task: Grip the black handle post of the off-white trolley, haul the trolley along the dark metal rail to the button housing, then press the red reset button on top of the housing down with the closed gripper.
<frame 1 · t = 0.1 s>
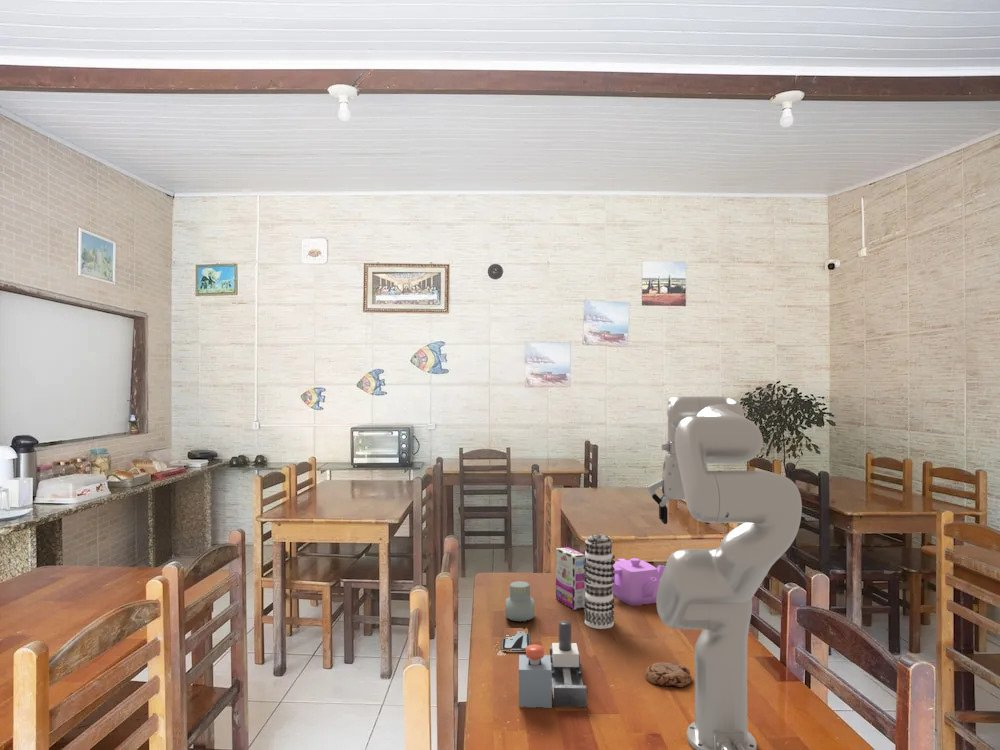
hand: (685, 522, 139), 37 cm above the table, tool pointing down, fingers open, 9 cm apart
candy bar box: (571, 604, 188), on the table
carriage: (565, 645, 143), point 7 cm above the table, slide at 0.0 cm
air freshener: (520, 618, 176), on the table
cookie: (668, 680, 140), on the table
decorative candle: (599, 623, 173), on the table
teakettle: (637, 598, 193), on the table
reset button: (534, 661, 131), point 8 cm above the table, slide at 0.0 cm
rail: (566, 683, 138), on the table
button housing: (535, 698, 131), on the table
smartphone: (516, 642, 161), on the table
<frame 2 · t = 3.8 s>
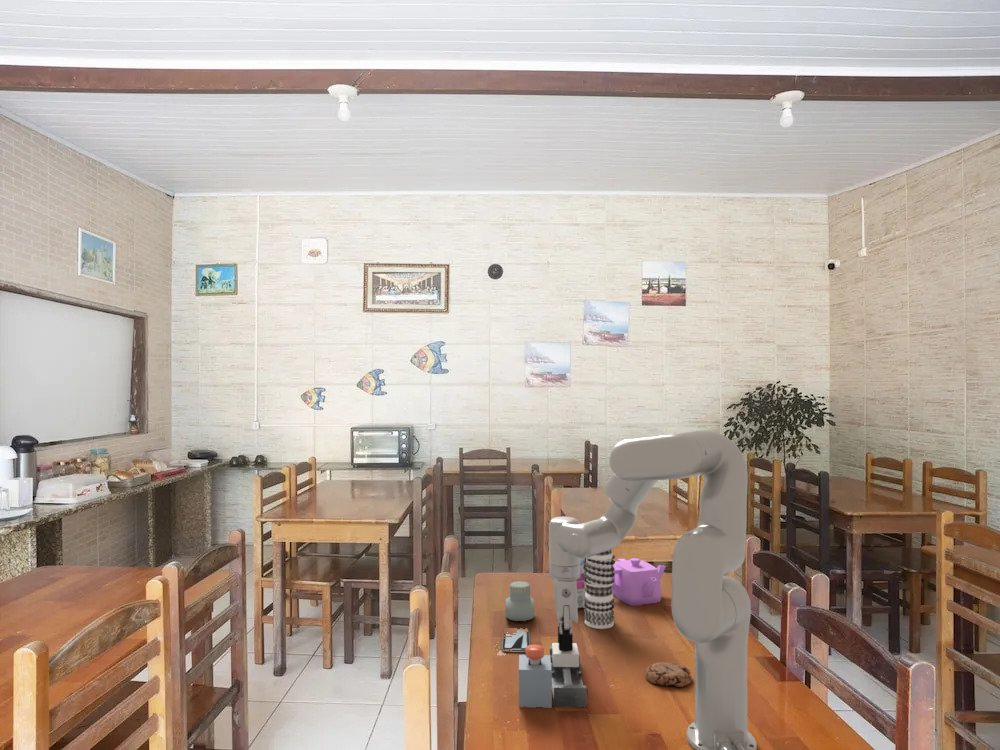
hand: (565, 645, 143), 6 cm above the table, tool pointing down, fingers closed on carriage, 3 cm apart
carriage: (565, 645, 143), point 7 cm above the table, slide at 0.0 cm, touching gripper
everything else where it was.
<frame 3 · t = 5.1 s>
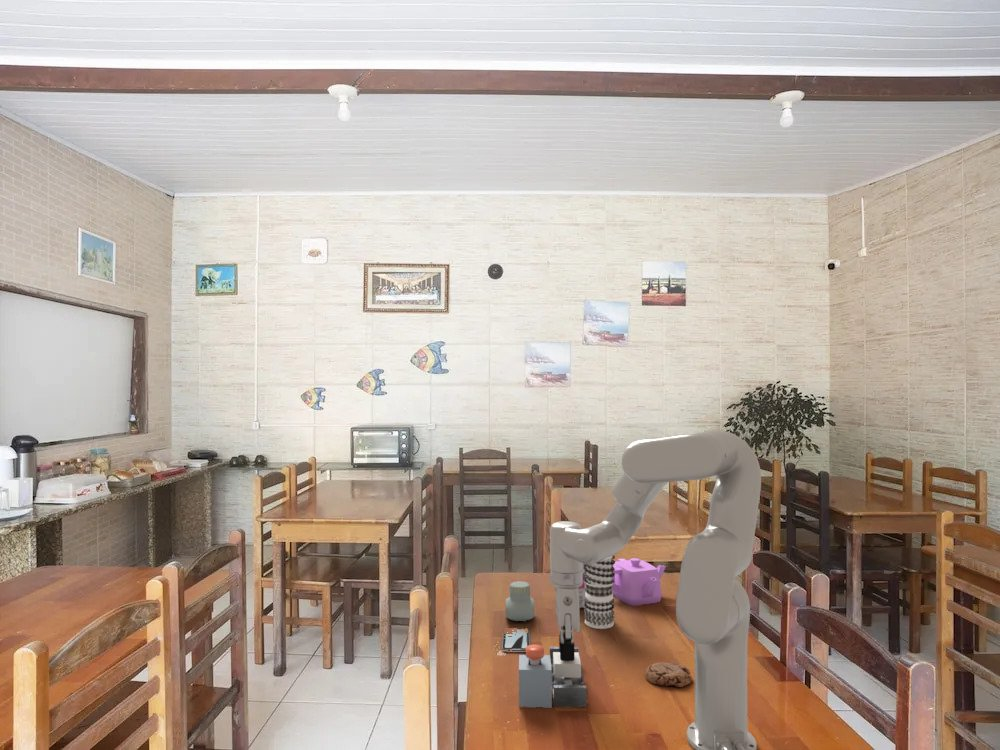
hand: (566, 655, 138), 6 cm above the table, tool pointing down, fingers closed on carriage, 3 cm apart
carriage: (566, 654, 138), point 7 cm above the table, slide at 5.0 cm, touching gripper
everything else where it was.
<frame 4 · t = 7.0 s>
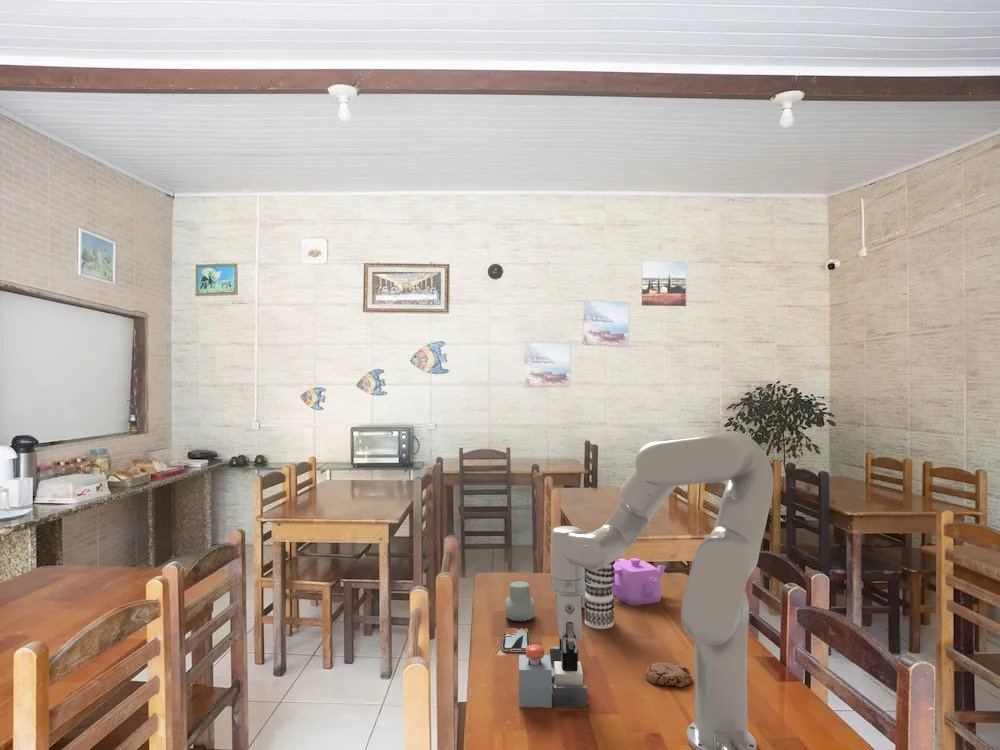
hand: (568, 660, 133), 8 cm above the table, tool pointing down, fingers open, 9 cm apart
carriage: (568, 664, 133), point 7 cm above the table, slide at 9.7 cm
everything else where it was.
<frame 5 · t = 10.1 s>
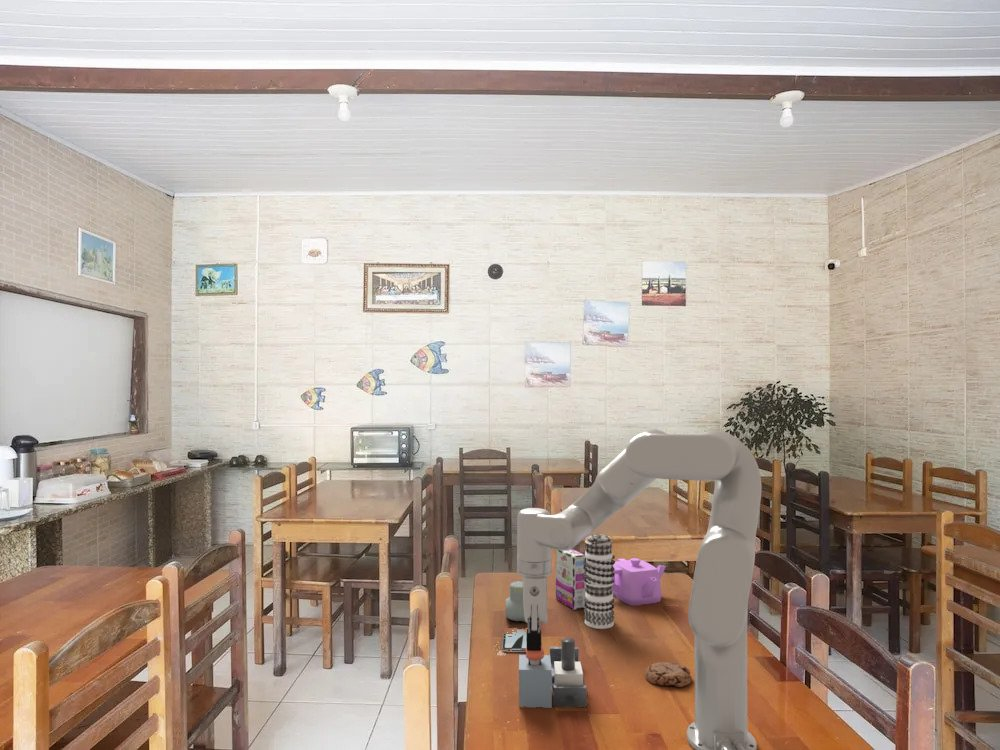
hand: (533, 648, 132), 11 cm above the table, tool pointing down, fingers closed
reset button: (534, 661, 131), point 8 cm above the table, slide at 0.2 cm, touching gripper
everything else where it was.
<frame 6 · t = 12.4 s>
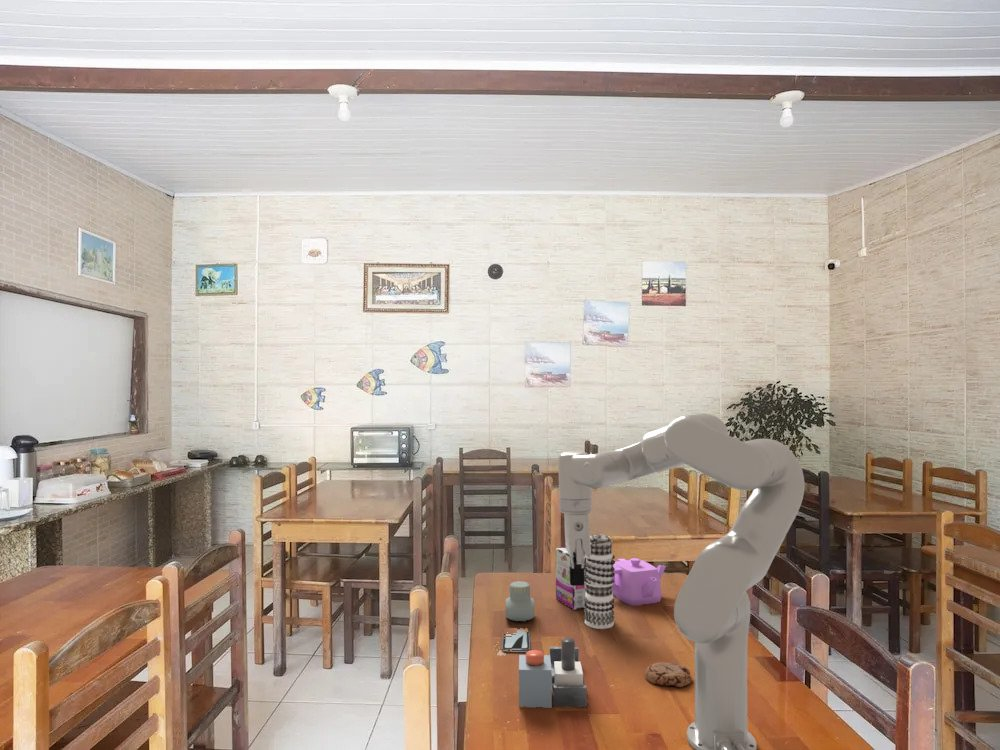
hand: (577, 584, 139), 23 cm above the table, tool pointing down, fingers closed
reset button: (534, 666, 131), point 7 cm above the table, slide at 1.2 cm
everything else where it was.
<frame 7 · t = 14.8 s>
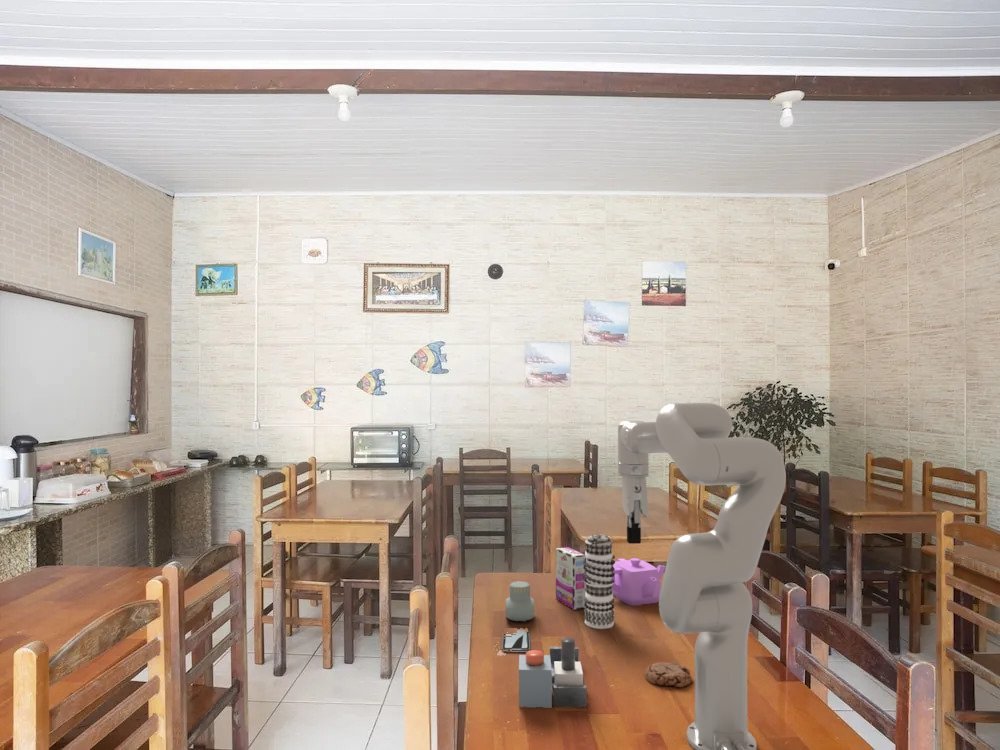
hand: (633, 542, 151), 29 cm above the table, tool pointing down, fingers closed
nothing on the table moved.
at the end: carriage slide at 9.7 cm; reset button slide at 1.2 cm; the gripper is holding nothing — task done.
